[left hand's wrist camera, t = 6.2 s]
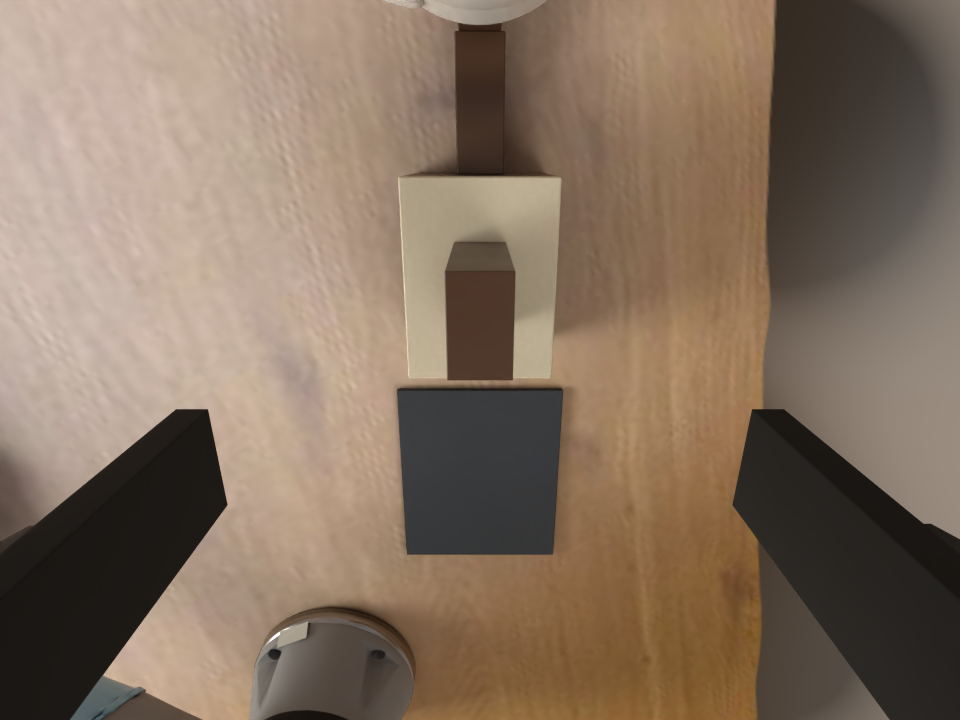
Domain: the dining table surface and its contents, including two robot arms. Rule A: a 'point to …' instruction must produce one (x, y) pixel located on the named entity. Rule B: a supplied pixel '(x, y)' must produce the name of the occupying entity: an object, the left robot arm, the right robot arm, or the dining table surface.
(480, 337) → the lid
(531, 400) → the felt mat
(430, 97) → the dining table surface
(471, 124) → the box
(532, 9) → the right robot arm
